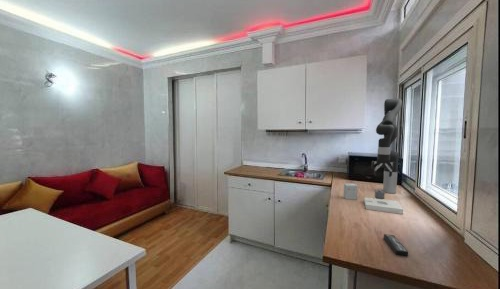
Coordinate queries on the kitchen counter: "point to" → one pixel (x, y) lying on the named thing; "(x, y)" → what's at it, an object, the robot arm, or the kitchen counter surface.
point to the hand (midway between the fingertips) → (382, 176)
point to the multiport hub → (395, 245)
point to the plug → (379, 194)
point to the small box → (350, 191)
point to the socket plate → (383, 205)
